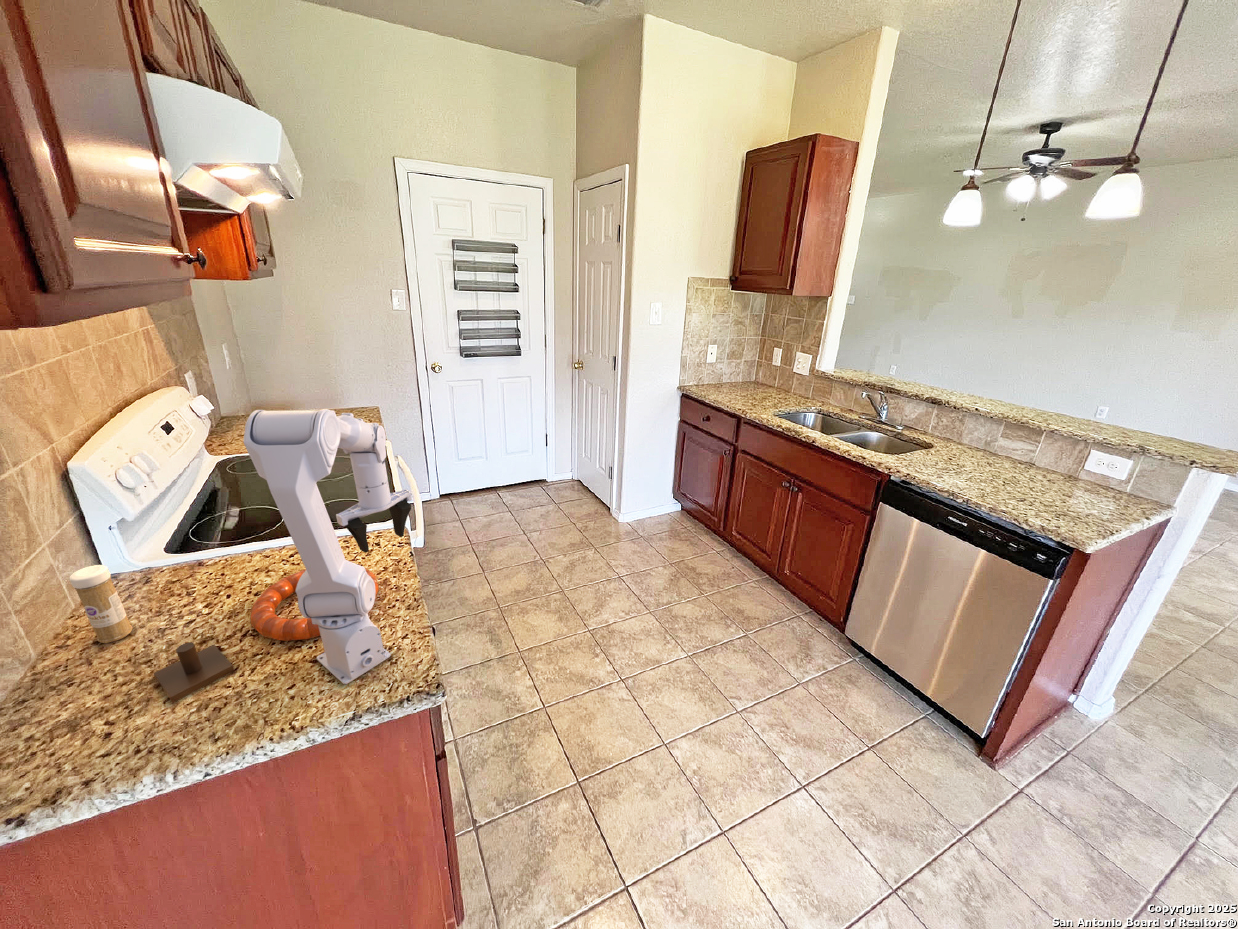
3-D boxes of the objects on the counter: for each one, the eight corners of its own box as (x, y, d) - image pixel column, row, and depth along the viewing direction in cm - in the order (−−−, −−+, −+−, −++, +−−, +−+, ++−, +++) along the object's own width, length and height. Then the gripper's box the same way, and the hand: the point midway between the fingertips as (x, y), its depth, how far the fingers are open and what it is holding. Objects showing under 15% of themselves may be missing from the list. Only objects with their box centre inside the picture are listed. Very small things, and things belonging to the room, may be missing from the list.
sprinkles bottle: (91, 646, 84) (60, 581, 79) (108, 629, 88) (79, 565, 83) (124, 641, 86) (96, 576, 81) (139, 624, 90) (113, 562, 85)
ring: (400, 599, 98) (398, 584, 97) (284, 662, 82) (280, 645, 81) (345, 563, 109) (342, 549, 108) (234, 613, 93) (229, 597, 92)
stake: (234, 671, 80) (225, 643, 78) (172, 703, 74) (160, 674, 72) (215, 649, 84) (206, 623, 82) (155, 678, 78) (143, 650, 76)
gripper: (394, 466, 103) (403, 523, 108) (323, 489, 92) (336, 551, 97) (414, 474, 99) (422, 533, 104) (342, 499, 88) (355, 563, 93)
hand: (382, 542), depth 100 cm, fingers open, 7 cm apart
